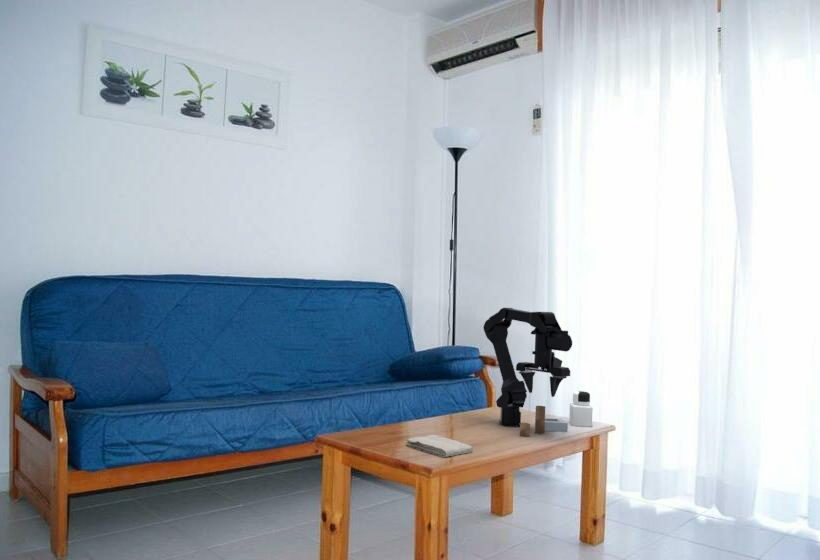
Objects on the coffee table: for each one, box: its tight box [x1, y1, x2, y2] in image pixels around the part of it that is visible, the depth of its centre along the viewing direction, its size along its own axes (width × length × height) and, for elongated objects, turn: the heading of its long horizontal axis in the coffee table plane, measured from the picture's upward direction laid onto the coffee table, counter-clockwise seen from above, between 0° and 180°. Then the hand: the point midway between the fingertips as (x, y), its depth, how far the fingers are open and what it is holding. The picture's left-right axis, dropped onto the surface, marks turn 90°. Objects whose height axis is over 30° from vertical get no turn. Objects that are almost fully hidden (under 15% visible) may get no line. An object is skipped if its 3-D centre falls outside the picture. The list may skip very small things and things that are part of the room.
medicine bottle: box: [568, 390, 594, 428], centre depth 237 cm, size 7×7×12 cm
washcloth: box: [405, 434, 474, 458], centre depth 190 cm, size 12×18×3 cm, turn 42°
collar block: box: [545, 416, 569, 433], centre depth 227 cm, size 9×9×3 cm
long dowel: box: [534, 405, 546, 435], centre depth 218 cm, size 3×3×9 cm
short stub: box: [519, 422, 531, 438], centre depth 213 cm, size 3×3×4 cm
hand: (541, 394), depth 219 cm, fingers open, 9 cm apart
